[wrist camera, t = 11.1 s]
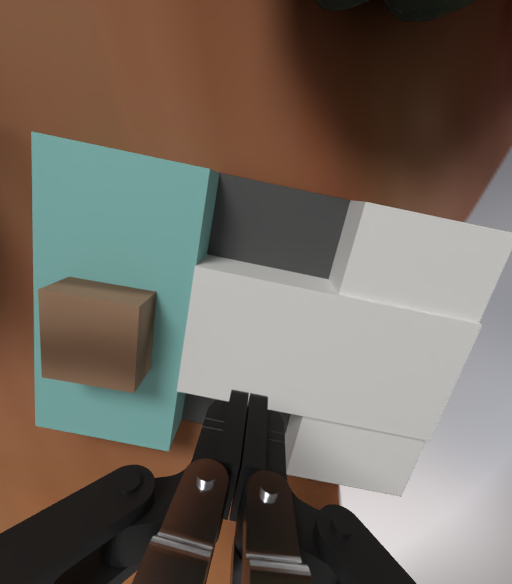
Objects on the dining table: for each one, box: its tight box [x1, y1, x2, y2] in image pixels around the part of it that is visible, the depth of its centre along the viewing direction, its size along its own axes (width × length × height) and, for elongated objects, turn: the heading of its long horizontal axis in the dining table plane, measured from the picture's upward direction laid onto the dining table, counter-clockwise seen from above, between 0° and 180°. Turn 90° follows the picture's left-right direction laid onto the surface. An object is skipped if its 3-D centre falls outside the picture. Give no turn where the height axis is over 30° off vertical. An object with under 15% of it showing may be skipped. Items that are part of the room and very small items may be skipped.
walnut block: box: [38, 277, 157, 393], centre depth 17 cm, size 5×5×2 cm
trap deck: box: [31, 132, 512, 496], centre depth 20 cm, size 18×25×4 cm
